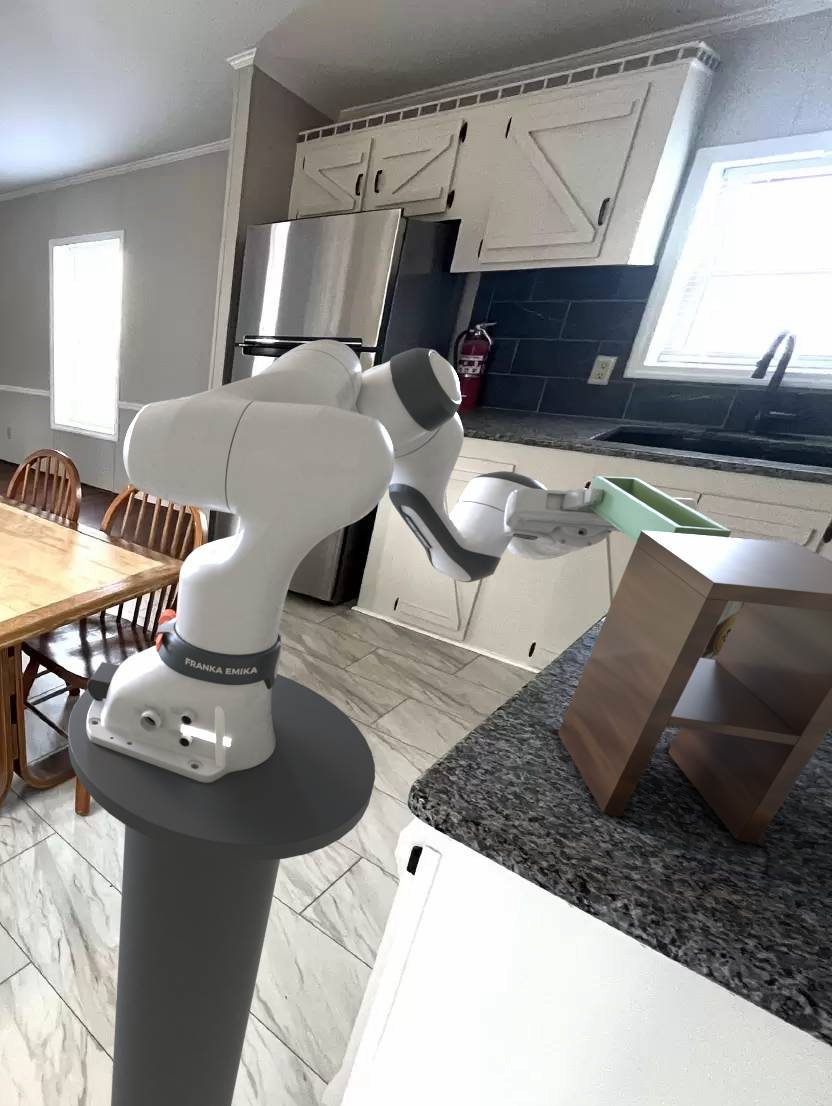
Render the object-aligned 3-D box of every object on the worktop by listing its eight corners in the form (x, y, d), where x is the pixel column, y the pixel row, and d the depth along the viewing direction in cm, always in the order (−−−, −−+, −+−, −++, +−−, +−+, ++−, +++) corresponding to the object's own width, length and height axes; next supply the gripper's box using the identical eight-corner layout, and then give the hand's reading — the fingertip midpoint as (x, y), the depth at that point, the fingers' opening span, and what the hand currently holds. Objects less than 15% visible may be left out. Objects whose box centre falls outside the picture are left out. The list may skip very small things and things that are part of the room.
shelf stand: (602, 813, 65) (714, 582, 54) (557, 733, 77) (641, 530, 65) (756, 844, 61) (912, 601, 50) (684, 755, 72) (796, 542, 61)
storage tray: (660, 562, 68) (676, 527, 66) (585, 504, 86) (595, 475, 85) (715, 567, 66) (732, 531, 65) (626, 507, 85) (637, 477, 83)
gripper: (659, 548, 90) (728, 528, 77) (491, 533, 97) (528, 513, 84) (664, 505, 91) (733, 478, 78) (496, 493, 97) (534, 467, 84)
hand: (625, 496), depth 81 cm, fingers closed on storage tray, 4 cm apart
